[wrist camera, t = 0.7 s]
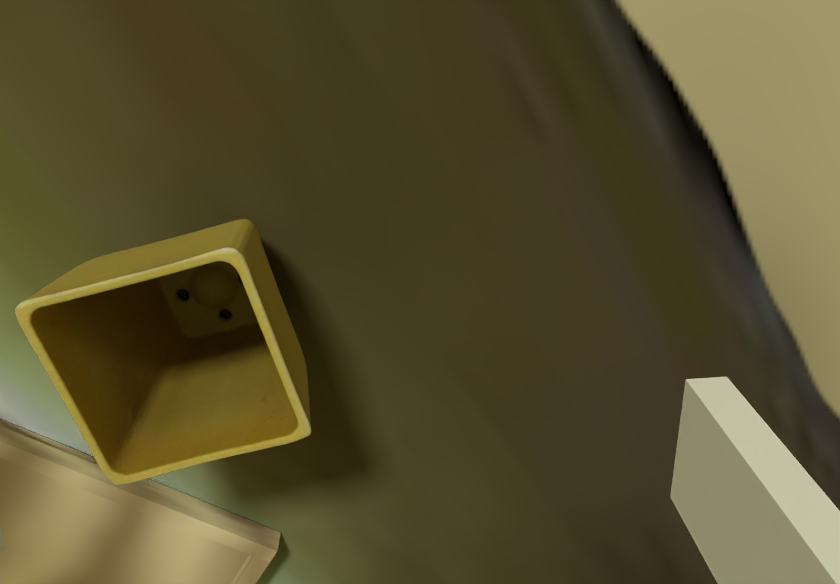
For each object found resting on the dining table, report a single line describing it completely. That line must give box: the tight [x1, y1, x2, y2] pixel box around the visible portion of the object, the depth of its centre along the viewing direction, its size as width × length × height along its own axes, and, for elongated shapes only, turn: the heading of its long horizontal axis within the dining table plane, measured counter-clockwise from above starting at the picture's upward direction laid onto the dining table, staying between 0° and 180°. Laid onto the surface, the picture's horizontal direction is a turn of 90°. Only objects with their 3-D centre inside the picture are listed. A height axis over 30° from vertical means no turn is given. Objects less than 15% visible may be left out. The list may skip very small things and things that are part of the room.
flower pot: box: [15, 219, 311, 485], centre depth 32 cm, size 9×9×9 cm
